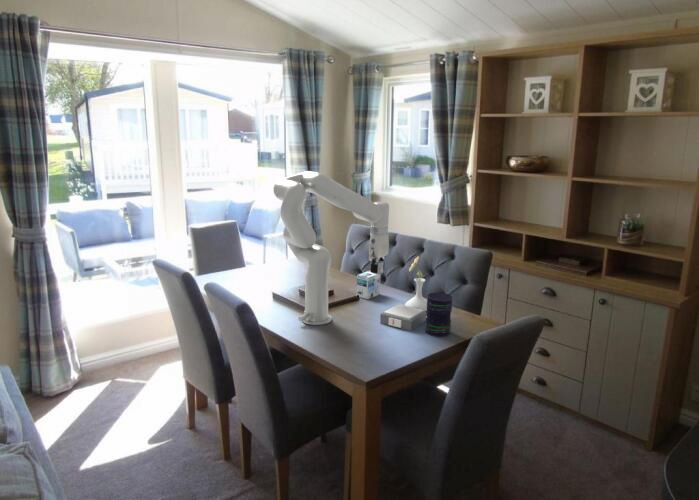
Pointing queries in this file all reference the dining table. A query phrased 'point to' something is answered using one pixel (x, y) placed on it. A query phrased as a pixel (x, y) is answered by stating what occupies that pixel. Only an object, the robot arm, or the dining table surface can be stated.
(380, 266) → the steel weight
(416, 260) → the flower in vase
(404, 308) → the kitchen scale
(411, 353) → the dining table surface
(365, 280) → the light bulb box
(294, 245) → the robot arm
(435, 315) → the storage jar
